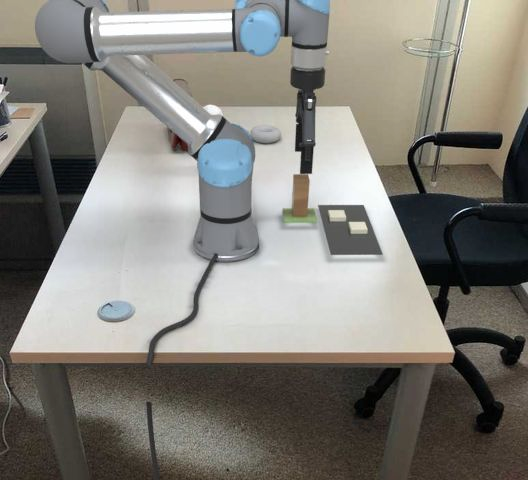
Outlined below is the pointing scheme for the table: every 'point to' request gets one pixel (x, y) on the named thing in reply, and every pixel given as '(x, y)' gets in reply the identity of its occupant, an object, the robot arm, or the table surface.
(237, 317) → the table surface
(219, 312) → the table surface
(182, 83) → the handbag
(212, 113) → the white rounded ball
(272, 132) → the donut
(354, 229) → the eraser
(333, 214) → the eraser
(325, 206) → the slate
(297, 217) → the scrub brush
